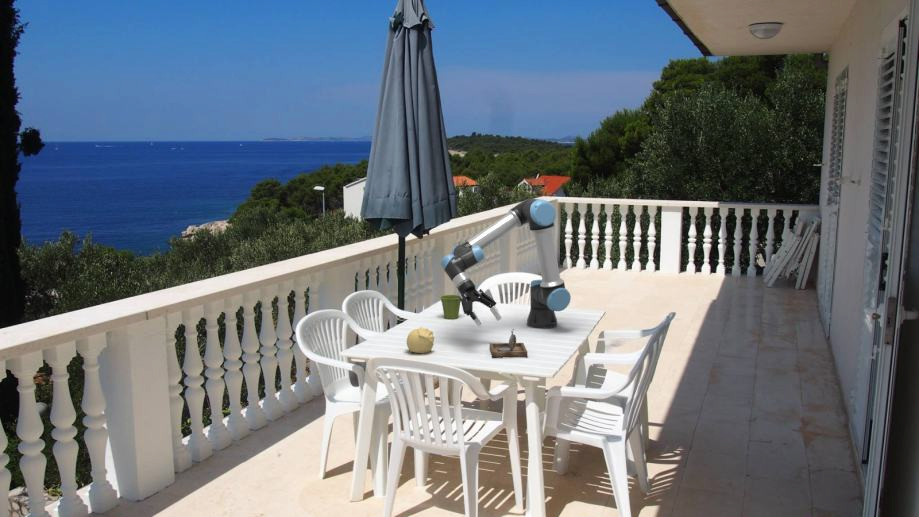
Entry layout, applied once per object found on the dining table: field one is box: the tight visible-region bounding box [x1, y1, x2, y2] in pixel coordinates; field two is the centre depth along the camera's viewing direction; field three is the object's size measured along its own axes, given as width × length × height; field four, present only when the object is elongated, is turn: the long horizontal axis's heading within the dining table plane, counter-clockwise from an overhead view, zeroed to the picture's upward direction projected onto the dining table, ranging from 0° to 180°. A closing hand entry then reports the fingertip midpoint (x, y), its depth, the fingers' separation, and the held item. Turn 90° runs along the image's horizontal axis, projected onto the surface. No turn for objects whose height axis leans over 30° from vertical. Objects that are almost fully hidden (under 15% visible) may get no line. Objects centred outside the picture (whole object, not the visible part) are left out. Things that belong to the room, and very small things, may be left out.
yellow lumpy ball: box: [406, 326, 435, 354], centre depth 331 cm, size 12×12×11 cm
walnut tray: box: [489, 342, 528, 359], centre depth 327 cm, size 15×15×2 cm
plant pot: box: [439, 294, 461, 320], centre depth 395 cm, size 12×12×11 cm
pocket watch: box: [497, 328, 517, 352], centre depth 326 cm, size 8×8×10 cm
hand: (490, 321), depth 332 cm, fingers open, 13 cm apart
